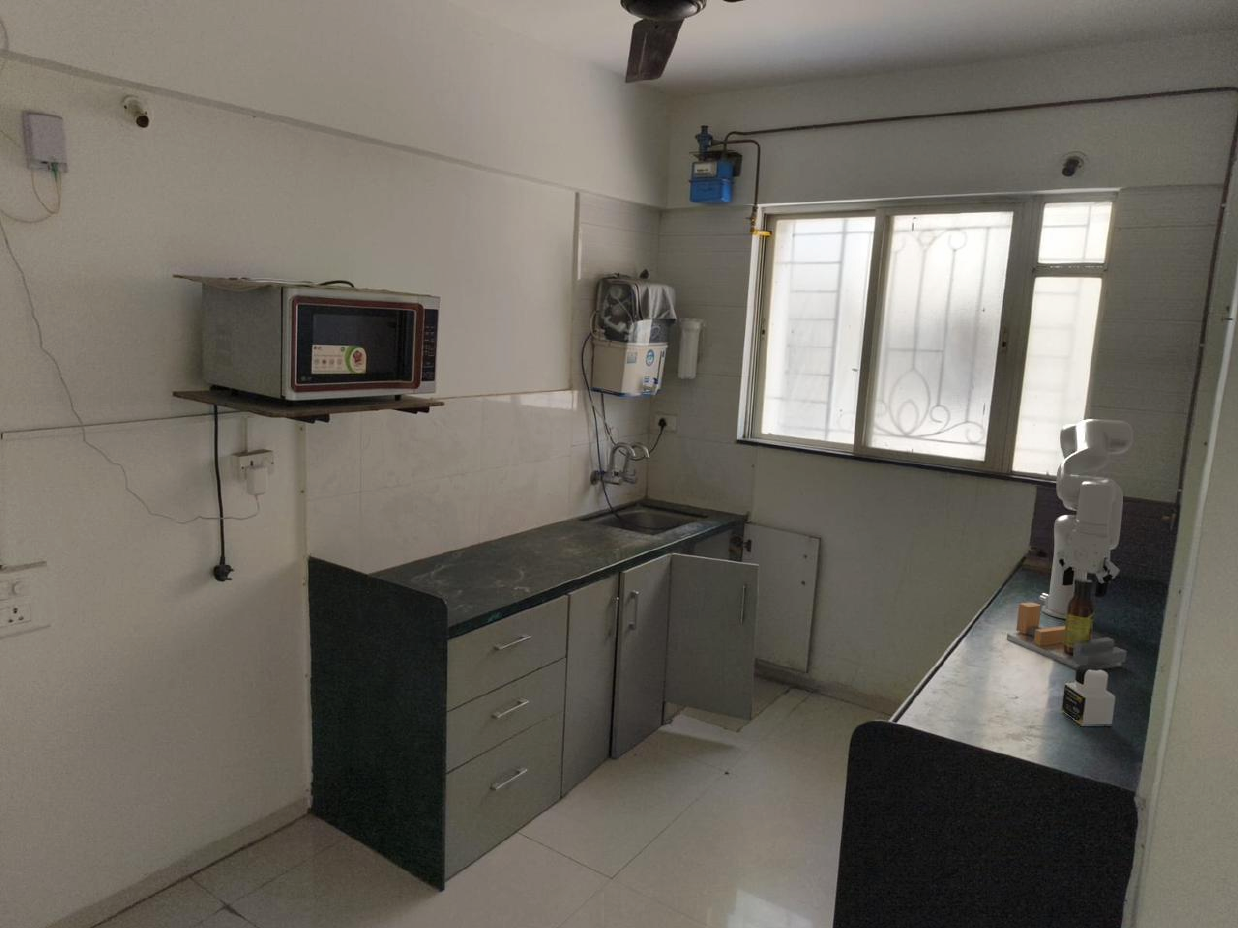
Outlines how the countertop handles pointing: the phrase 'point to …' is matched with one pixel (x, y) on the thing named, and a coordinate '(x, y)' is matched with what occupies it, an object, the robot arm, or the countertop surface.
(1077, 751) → the countertop surface
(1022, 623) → the sliding jaw
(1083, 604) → the sauce bottle
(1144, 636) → the countertop surface
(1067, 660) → the vise base
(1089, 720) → the medicine bottle
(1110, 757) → the countertop surface
